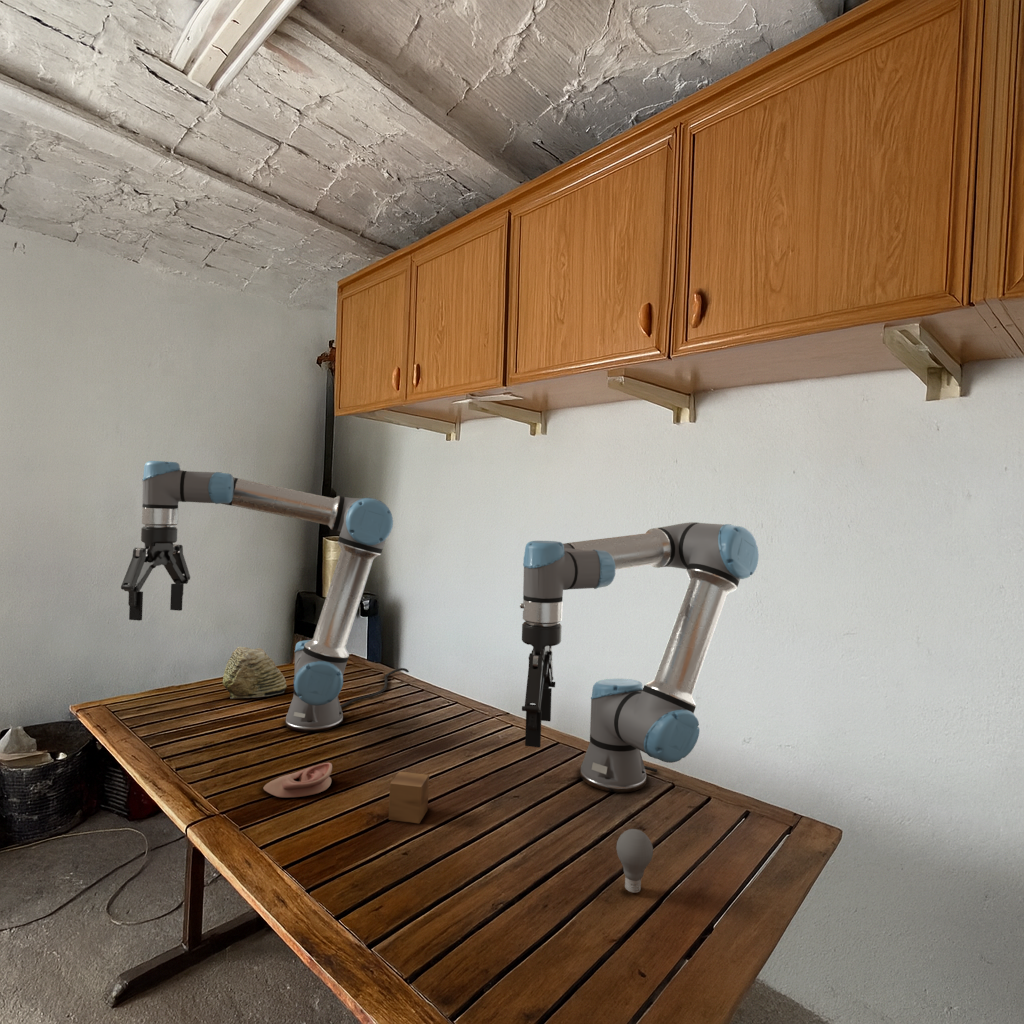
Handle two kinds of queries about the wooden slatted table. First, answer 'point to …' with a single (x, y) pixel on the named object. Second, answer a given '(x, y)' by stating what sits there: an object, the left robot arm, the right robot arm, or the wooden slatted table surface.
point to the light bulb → (634, 857)
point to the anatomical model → (301, 782)
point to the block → (408, 797)
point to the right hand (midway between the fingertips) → (538, 732)
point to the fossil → (252, 674)
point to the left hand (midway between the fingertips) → (156, 614)
